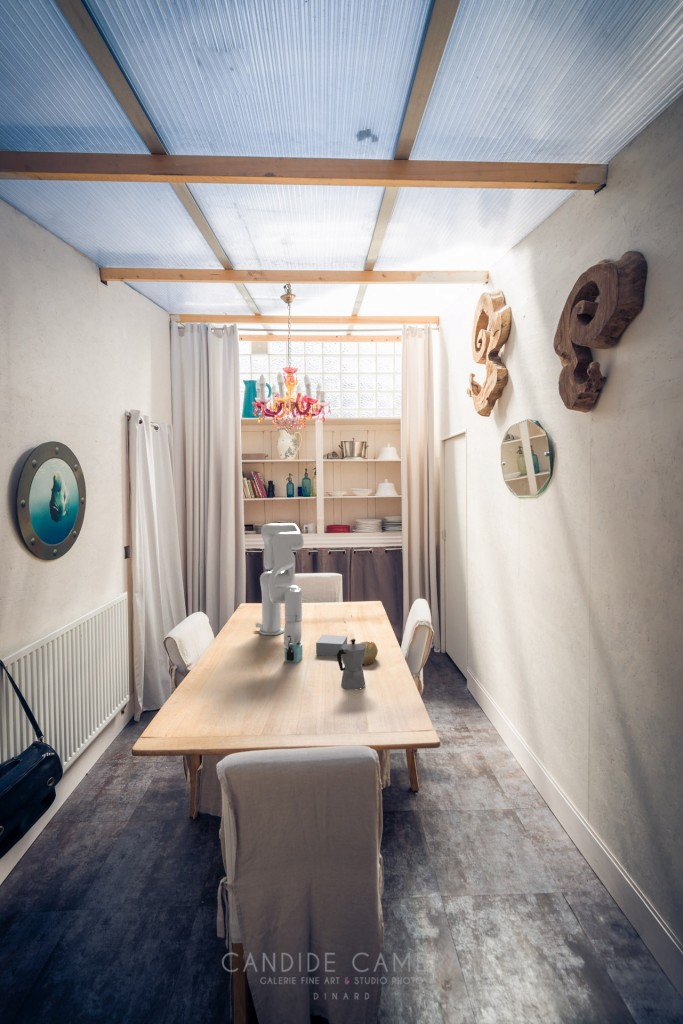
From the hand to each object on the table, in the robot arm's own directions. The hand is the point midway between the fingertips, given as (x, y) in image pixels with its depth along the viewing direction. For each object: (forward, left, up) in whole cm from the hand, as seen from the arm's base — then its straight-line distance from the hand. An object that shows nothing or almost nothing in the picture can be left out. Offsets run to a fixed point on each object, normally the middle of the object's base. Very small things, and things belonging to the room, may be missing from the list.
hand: (293, 657), depth 233 cm
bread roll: (+31, +8, -1) cm, 32 cm away
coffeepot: (+32, -22, -1) cm, 39 cm away
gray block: (+13, +15, -1) cm, 20 cm away
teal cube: (0, 0, -1) cm, 1 cm away
